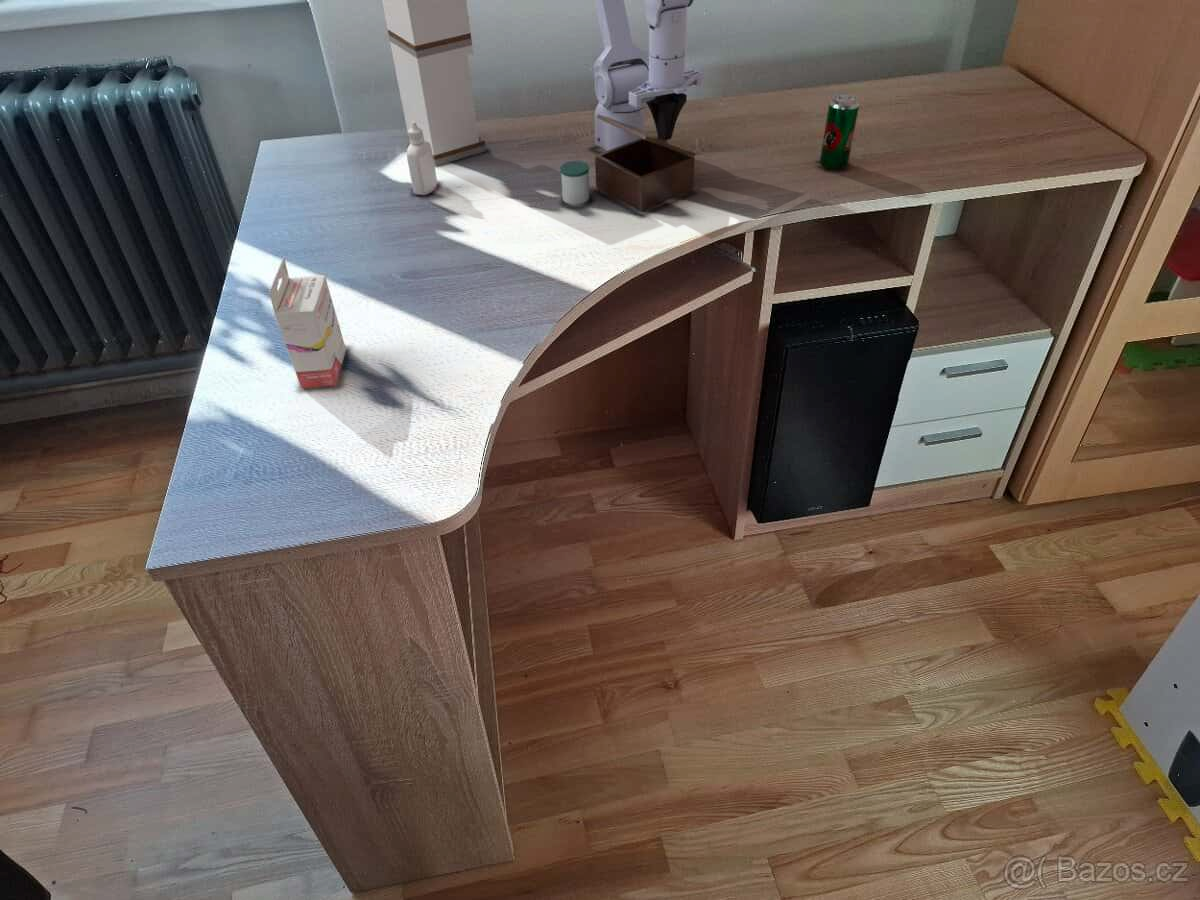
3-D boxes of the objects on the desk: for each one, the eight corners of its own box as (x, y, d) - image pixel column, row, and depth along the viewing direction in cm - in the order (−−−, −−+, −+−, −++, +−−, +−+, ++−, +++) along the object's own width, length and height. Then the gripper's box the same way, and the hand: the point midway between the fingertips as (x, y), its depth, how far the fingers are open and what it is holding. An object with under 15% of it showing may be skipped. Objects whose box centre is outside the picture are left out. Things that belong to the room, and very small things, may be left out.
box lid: (644, 139, 128) (646, 136, 127) (596, 117, 134) (597, 114, 134) (694, 156, 137) (695, 153, 137) (646, 135, 144) (647, 131, 144)
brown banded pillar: (485, 151, 156) (458, -59, 132) (435, 166, 152) (398, -48, 128) (458, 131, 163) (428, -72, 139) (410, 145, 159) (370, -61, 135)
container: (556, 201, 141) (554, 166, 137) (578, 192, 143) (576, 158, 139) (573, 211, 138) (572, 176, 134) (595, 202, 140) (594, 167, 136)
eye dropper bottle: (445, 187, 146) (434, 120, 138) (420, 198, 143) (406, 130, 135) (431, 179, 148) (419, 113, 140) (405, 190, 145) (392, 123, 137)
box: (641, 216, 136) (641, 179, 132) (595, 191, 143) (594, 155, 139) (692, 193, 142) (694, 157, 137) (646, 170, 148) (647, 135, 144)
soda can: (847, 172, 146) (860, 104, 137) (818, 170, 146) (830, 103, 138) (847, 160, 149) (860, 93, 141) (819, 158, 150) (830, 91, 142)
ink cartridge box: (339, 387, 106) (307, 290, 96) (300, 389, 106) (264, 293, 96) (348, 347, 112) (319, 252, 102) (311, 350, 112) (279, 255, 102)
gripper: (649, 71, 124) (648, 157, 133) (717, 48, 130) (711, 132, 139) (619, 59, 128) (620, 144, 137) (686, 38, 134) (682, 120, 143)
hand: (664, 137), depth 139 cm, fingers closed
